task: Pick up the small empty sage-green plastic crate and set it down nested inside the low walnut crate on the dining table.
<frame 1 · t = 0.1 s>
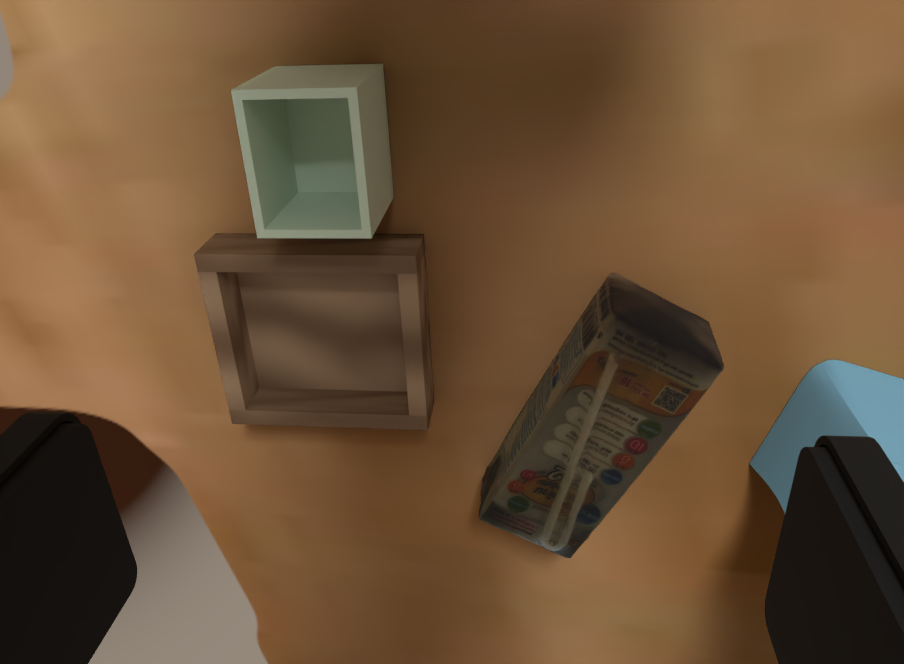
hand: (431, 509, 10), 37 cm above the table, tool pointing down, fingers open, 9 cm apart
walnut crate: (329, 321, 51), on the table
small crate: (336, 133, 45), on the table
beverage carton: (587, 396, 53), on the table
vase: (847, 429, 51), on the table
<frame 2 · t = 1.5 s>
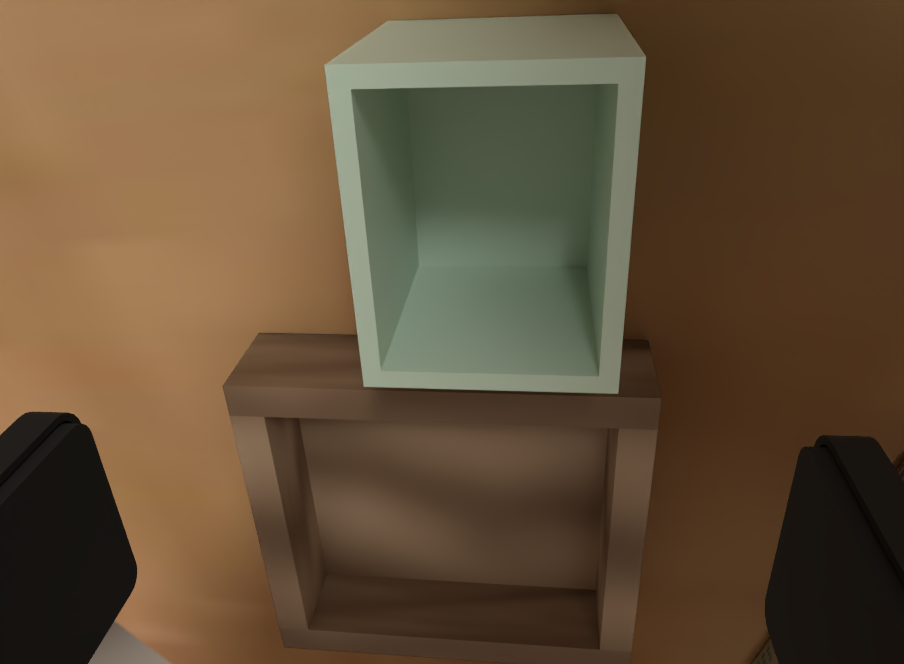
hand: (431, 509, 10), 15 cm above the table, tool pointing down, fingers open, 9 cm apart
walnut crate: (454, 477, 29), on the table
small crate: (501, 156, 23), on the table
beverage carton: (888, 597, 31), on the table
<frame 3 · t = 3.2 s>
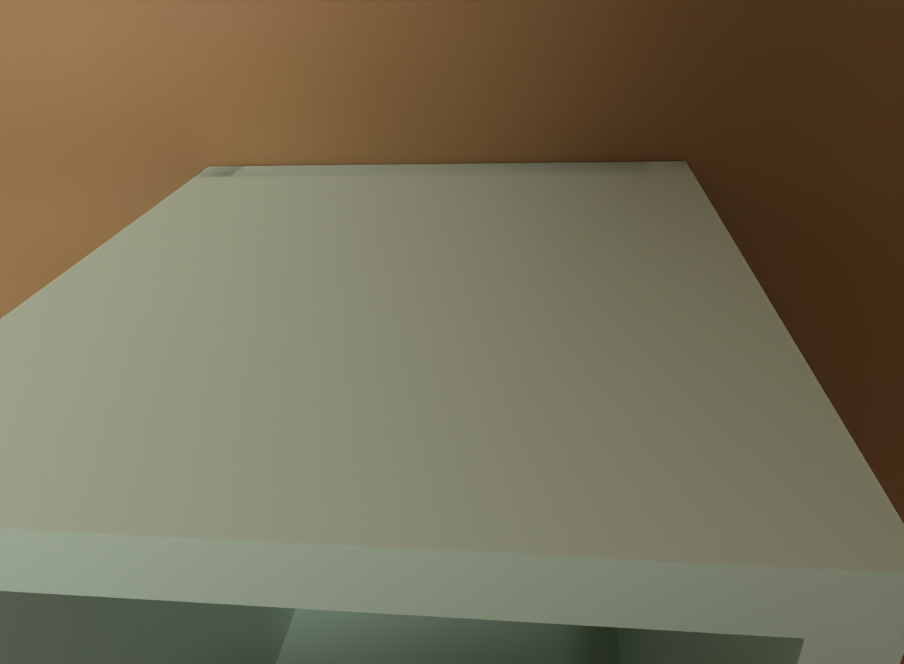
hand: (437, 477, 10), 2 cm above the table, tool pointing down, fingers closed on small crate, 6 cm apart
small crate: (451, 408, 12), on the table, touching gripper
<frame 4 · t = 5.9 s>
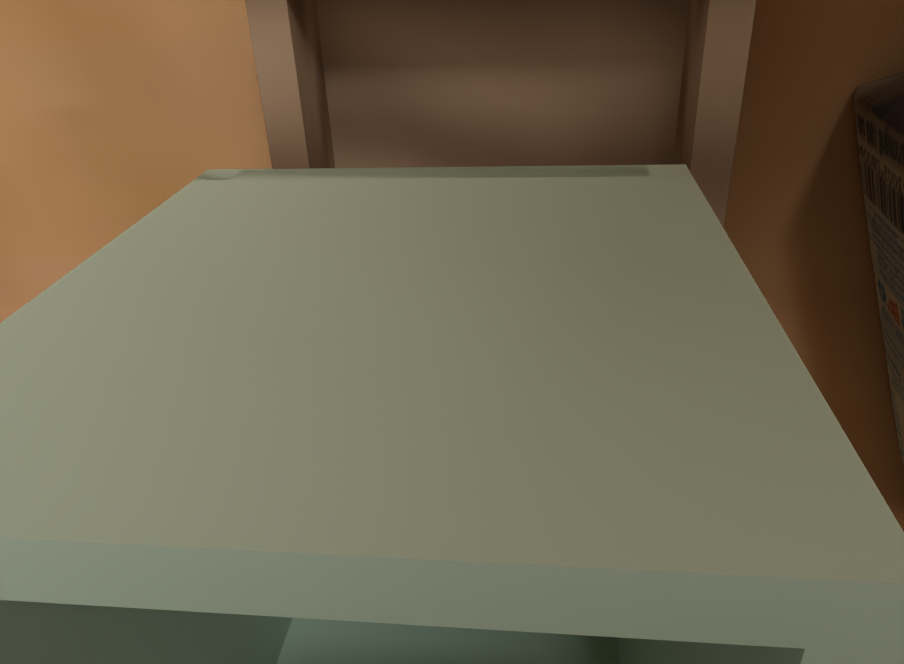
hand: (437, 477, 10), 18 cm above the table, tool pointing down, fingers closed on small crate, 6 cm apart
walnut crate: (500, 148, 26), on the table
small crate: (450, 410, 12), point 16 cm above the table, touching gripper
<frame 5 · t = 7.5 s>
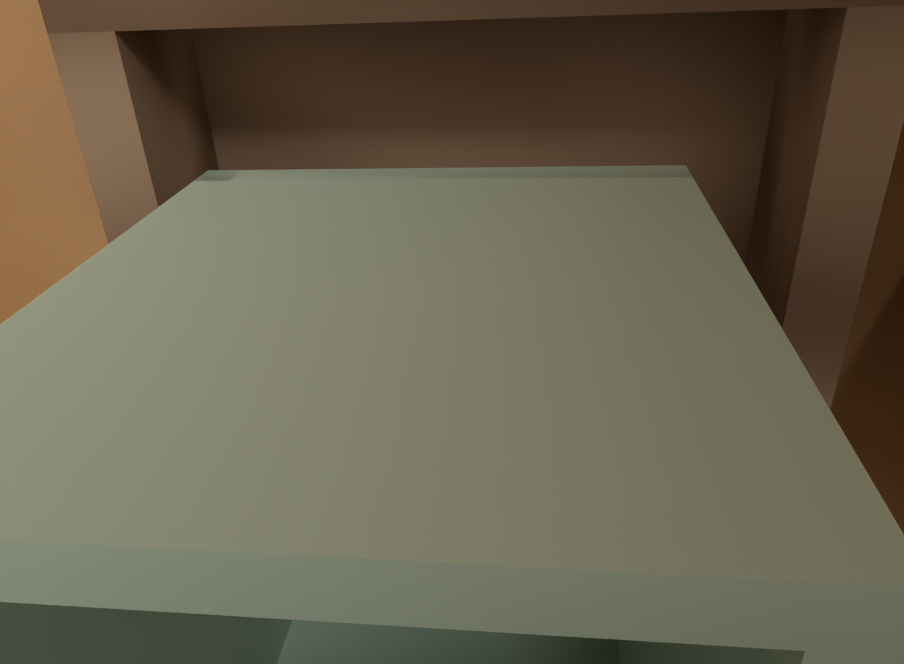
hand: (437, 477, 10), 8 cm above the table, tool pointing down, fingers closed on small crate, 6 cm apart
walnut crate: (483, 245, 17), on the table
small crate: (450, 411, 12), point 6 cm above the table, touching gripper
when the fingers open (4 cm above the table, at t = 8.8 s): small crate drops 2 cm, resting on walnut crate.
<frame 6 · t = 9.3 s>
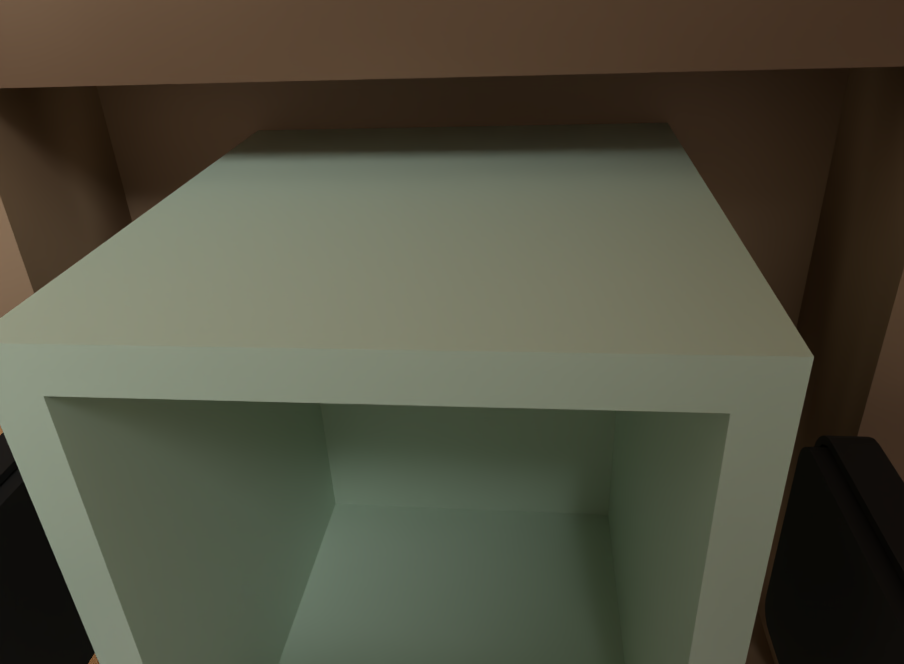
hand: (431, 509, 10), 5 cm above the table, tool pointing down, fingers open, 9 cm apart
walnut crate: (465, 332, 14), on the table
small crate: (465, 345, 14), point 1 cm above the table, touching walnut crate
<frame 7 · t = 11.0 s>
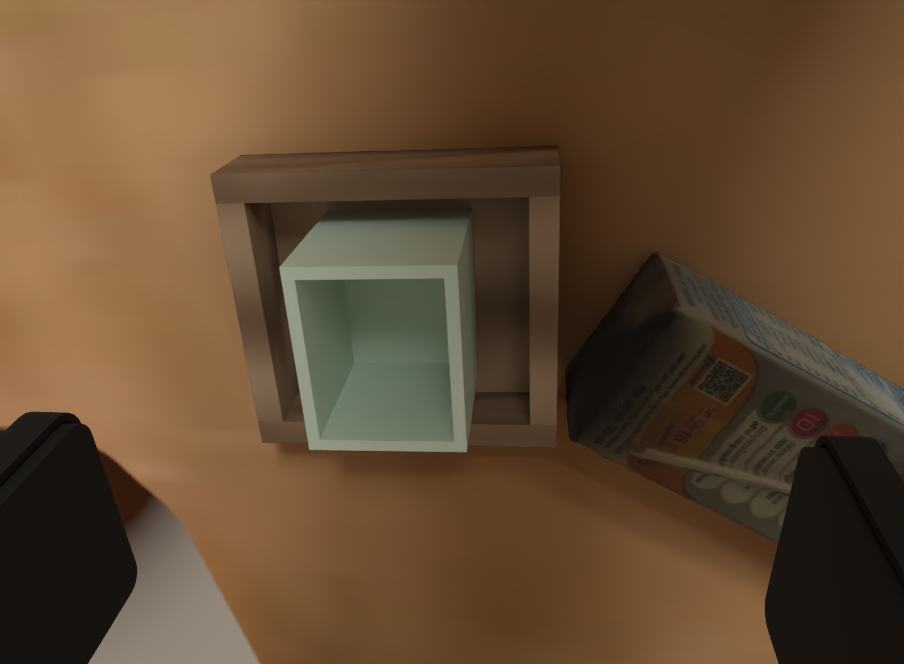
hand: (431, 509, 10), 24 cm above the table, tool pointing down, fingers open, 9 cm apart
walnut crate: (406, 288, 35), on the table
small crate: (405, 292, 34), point 1 cm above the table, touching walnut crate
beverage carton: (766, 396, 36), on the table
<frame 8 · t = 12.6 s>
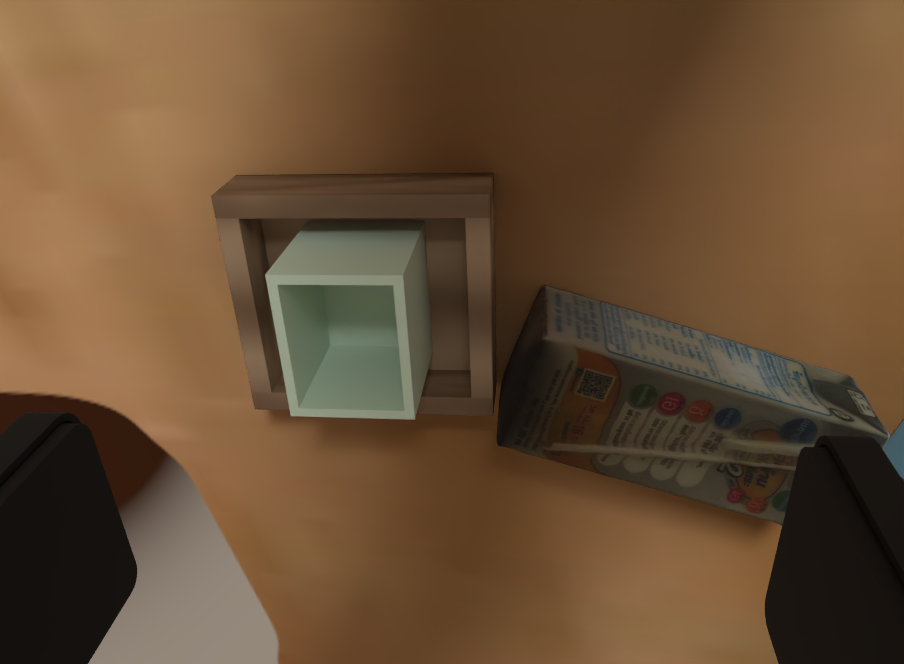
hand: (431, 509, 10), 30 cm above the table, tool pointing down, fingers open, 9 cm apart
walnut crate: (373, 284, 42), on the table
small crate: (372, 288, 42), point 1 cm above the table, touching walnut crate
beverage carton: (669, 377, 44), on the table
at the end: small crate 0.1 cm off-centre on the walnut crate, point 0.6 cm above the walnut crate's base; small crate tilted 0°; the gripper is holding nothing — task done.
